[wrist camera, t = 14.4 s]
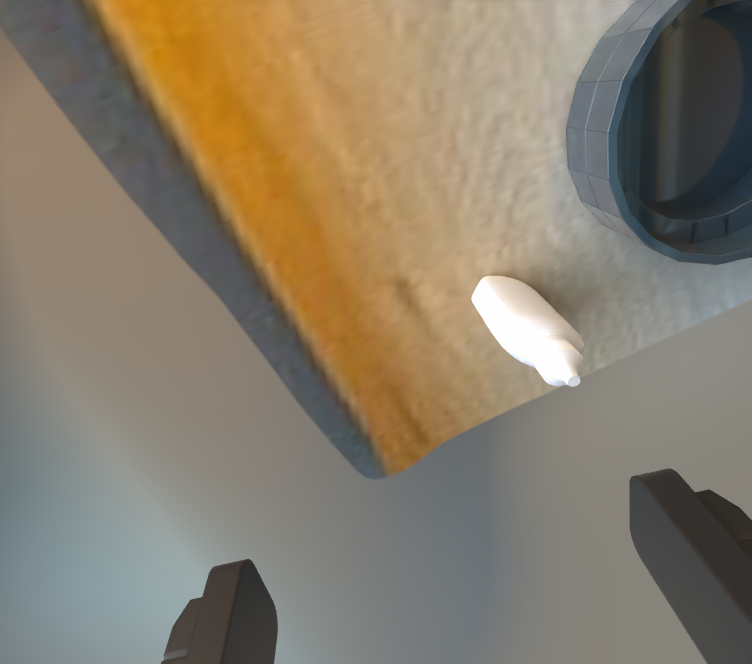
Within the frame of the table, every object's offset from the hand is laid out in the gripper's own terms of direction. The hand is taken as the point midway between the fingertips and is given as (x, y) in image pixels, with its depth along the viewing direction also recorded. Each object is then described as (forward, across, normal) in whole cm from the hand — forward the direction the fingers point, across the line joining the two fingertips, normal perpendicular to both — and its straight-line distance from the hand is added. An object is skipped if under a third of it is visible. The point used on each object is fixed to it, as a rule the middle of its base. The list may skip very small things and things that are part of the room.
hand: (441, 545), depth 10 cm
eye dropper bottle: (+27, -9, +8) cm, 29 cm away
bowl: (+27, -22, -2) cm, 35 cm away
